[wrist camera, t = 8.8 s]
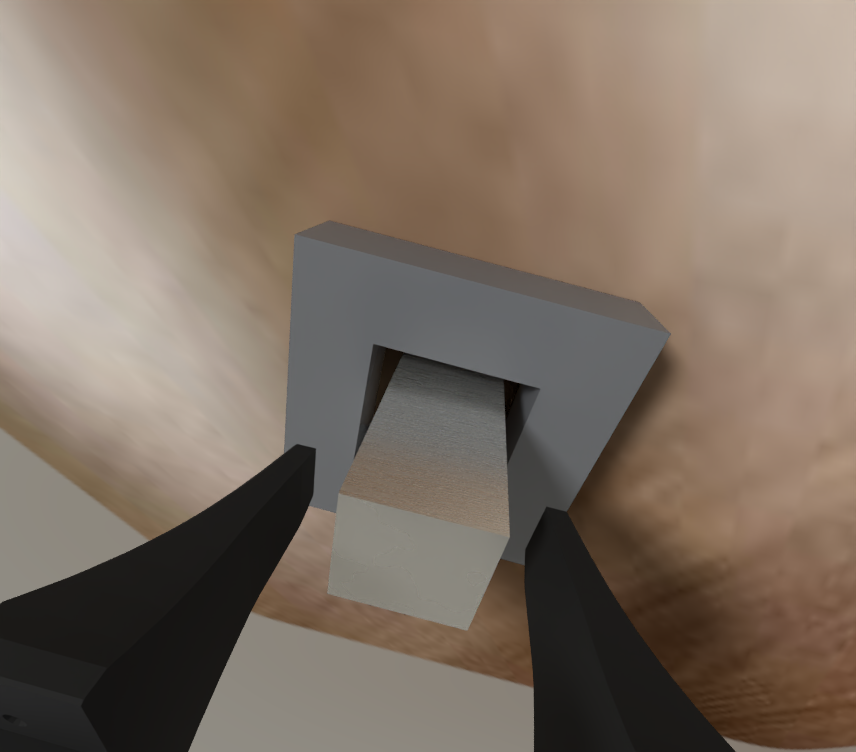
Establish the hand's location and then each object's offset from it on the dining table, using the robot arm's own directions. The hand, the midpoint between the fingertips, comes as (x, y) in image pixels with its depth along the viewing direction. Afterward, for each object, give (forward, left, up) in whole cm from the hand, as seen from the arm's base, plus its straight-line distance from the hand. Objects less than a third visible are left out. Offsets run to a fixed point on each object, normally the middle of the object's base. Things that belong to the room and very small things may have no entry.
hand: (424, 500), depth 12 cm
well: (0, 0, -6) cm, 7 cm away
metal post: (0, 0, -6) cm, 7 cm away
